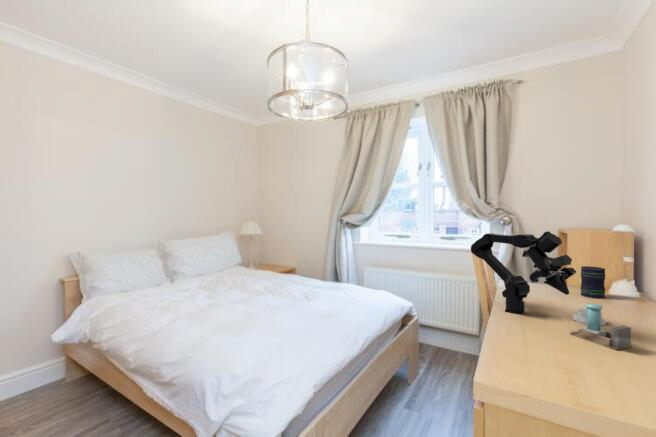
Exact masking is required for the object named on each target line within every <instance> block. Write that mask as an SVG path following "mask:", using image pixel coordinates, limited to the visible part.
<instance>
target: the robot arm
mask: <svg viewBox="0 0 656 437" xmlns="http://www.w3.org/2000/svg"><path fill="white" fill-rule="evenodd" d="M494 243H498V244H506V245H507V244H509V245H512V247H516V248H519V249H526V248H528V249H526V250H523V251H522V252H523V253H522V258H528V259H530V260H531V262H532V263H533V266H532V267H533V268H534V269H535V271H533V272H532V273H530V274H529V280H530V281H531V283H539V279H542V278H545V281H544V282H543V283H544V284H546V285H548V286H550V287H552V288H553V289H555V290H556V291H559V292H561V293H562V294H564V295H569V294H570V290H569V288H568V284H567V281H566V280H568V279H569V278H571V277H572V276H574V275H575V274H577V271H576V269H575V268H574V267H565V266H570V265H572V262H573V258H571V257H570V256H569V255H568V254H563V255H560V256H557V257H550V256H548V254H550V253H552V252H554V250H556V249H557V248H558V247H559V246H560V245H562V244H563V240H562V239H561V238H560V237H559V236H557V235H556V234H553V233H552V232H550V231H545V232H543V233H542V235H540V237H536V236H535V235H534V234H532V233H530V234H529V233H527V234H526V233H525V234H512V235H511V234H500V233H499V234H498V233H490V232H489V233H485V234H483V235H482V236H481V237H480V238H479V239H478V240H475V242H474V243H472V244H471V245H470V252H471V253H472V255H474V256H475V257H477V258H478V259H481V260H483V261H484V262H485V263H486V264H487V265H488V267H490V268H491V269H492V271H493V272H495V273H496V275H497V276H498V277H499V278H500V279H501V280H502V281H503V284H504V287H505V289H504V290H503V291H502V292H501V295H502V297H503V298H505V309H504V312H505V313H506V312H507V313H512V314H516V315H522V314H524V312H525V311H526V301H524V299H526V298H527V296H528V295H529V294H530V291H531V288H530V284H529V282H528V281H527V280H526V279H524V277H523V276H522V275H514V274H513V273H512V272H511V271H510V270H509V269H508V268H507V267H506V266H505V265H504V264H503V263H502V262H501V261H500V260H499V259H498V258H497V257H496V256H495V255H494V253H493V249H492V247H493V246H494ZM547 253H548V254H547Z"/></svg>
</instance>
